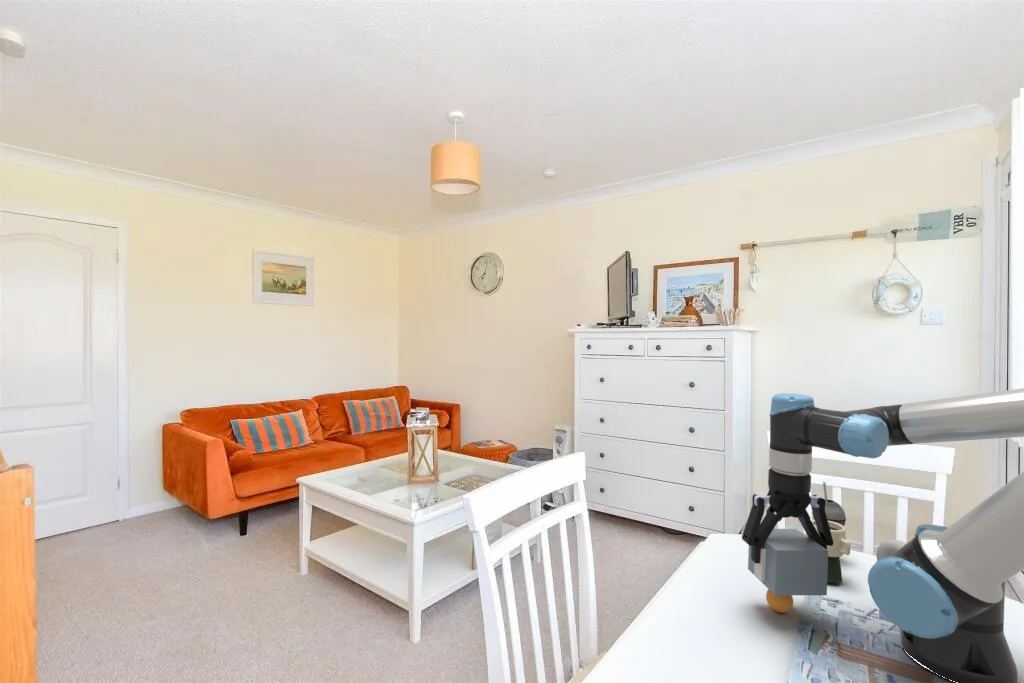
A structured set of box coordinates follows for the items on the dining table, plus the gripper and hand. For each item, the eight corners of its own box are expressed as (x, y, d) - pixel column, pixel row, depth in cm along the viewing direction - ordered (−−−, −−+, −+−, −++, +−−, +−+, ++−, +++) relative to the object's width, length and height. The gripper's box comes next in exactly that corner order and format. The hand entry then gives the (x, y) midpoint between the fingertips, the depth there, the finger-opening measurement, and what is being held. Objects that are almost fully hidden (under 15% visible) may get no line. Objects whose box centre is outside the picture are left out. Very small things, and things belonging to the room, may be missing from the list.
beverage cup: (844, 570, 119) (846, 489, 119) (809, 561, 124) (811, 483, 123) (846, 559, 125) (847, 482, 125) (812, 551, 129) (814, 477, 129)
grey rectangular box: (794, 569, 104) (796, 528, 104) (826, 595, 94) (828, 550, 94) (748, 569, 104) (749, 528, 104) (775, 595, 94) (776, 550, 94)
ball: (796, 586, 101) (788, 599, 104) (770, 577, 103) (762, 590, 105) (797, 608, 97) (789, 621, 100) (770, 598, 99) (763, 611, 102)
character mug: (860, 588, 111) (861, 532, 111) (837, 593, 108) (838, 536, 108) (816, 566, 121) (817, 514, 121) (794, 570, 119) (795, 518, 119)
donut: (928, 593, 109) (929, 549, 109) (917, 595, 108) (918, 551, 108) (882, 572, 119) (883, 531, 118) (872, 574, 117) (873, 533, 117)
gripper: (831, 465, 102) (828, 569, 103) (725, 464, 102) (722, 568, 102) (858, 476, 95) (854, 588, 96) (743, 475, 94) (739, 587, 95)
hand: (785, 578), depth 99 cm, fingers closed on grey rectangular box, 10 cm apart
